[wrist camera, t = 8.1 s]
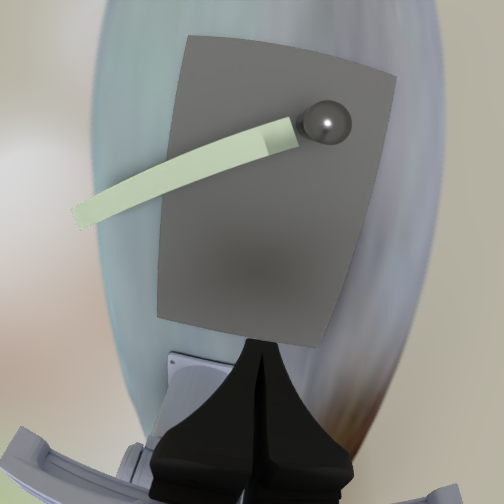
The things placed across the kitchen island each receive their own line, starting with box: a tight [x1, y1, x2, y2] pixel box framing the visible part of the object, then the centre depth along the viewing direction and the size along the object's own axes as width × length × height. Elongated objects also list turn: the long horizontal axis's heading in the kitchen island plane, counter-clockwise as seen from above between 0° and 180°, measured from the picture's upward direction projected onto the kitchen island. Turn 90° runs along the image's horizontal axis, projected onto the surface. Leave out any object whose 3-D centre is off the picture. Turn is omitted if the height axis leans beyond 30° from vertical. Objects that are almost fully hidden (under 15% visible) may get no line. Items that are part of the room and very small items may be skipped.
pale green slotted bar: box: [71, 117, 299, 231], centre depth 17 cm, size 14×2×5 cm, turn 109°
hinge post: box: [296, 100, 352, 145], centre depth 15 cm, size 2×2×7 cm
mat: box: [157, 35, 396, 348], centre depth 20 cm, size 22×14×1 cm, turn 170°
